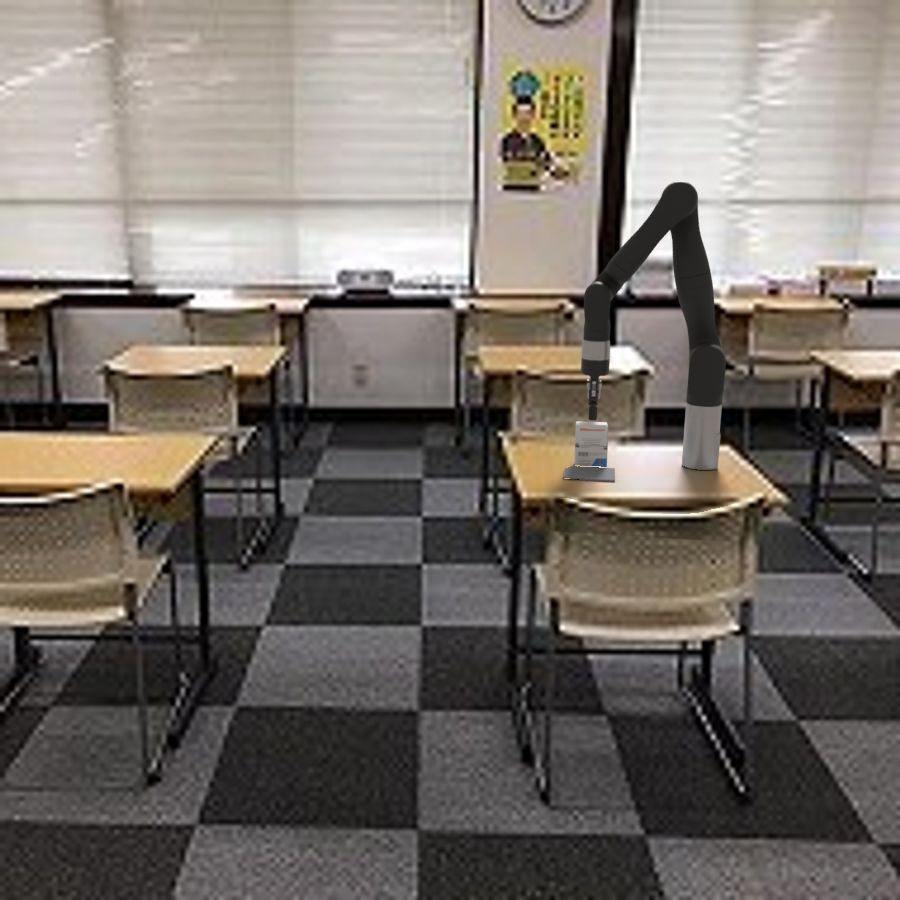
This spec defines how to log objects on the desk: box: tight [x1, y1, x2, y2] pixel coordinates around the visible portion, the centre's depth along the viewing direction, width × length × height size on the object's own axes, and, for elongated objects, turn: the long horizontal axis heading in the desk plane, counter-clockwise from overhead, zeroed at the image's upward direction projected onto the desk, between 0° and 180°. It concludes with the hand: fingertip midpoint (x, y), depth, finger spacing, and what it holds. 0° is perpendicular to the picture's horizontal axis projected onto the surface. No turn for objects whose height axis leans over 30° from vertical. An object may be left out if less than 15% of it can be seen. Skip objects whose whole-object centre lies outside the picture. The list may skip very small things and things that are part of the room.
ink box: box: [574, 420, 609, 468], centre depth 279 cm, size 9×5×12 cm, turn 84°
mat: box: [562, 465, 616, 483], centre depth 271 cm, size 13×12×1 cm
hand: (592, 419), depth 284 cm, fingers closed
